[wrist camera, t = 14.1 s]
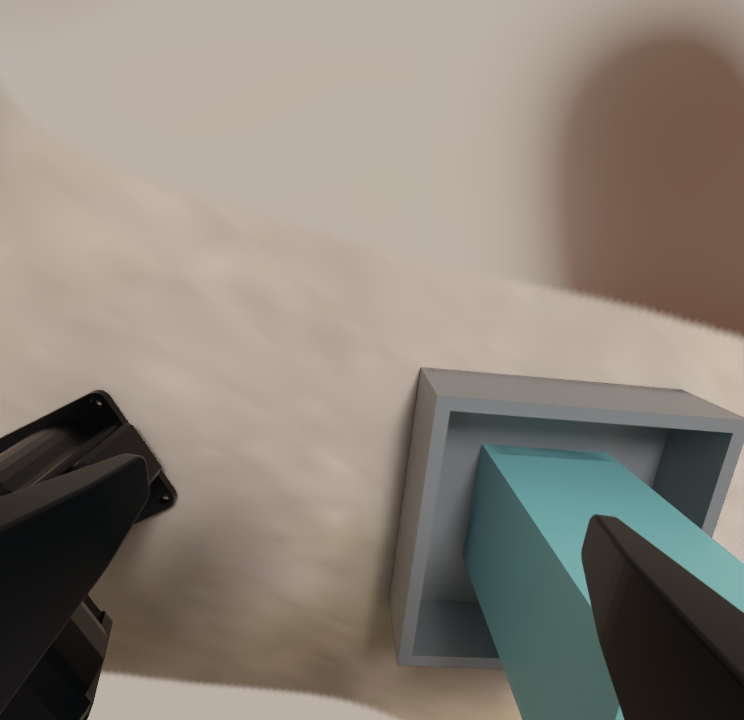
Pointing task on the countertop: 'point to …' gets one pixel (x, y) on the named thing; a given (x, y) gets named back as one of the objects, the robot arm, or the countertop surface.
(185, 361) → the countertop surface
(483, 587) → the teal square planter
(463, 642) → the gray square tray
